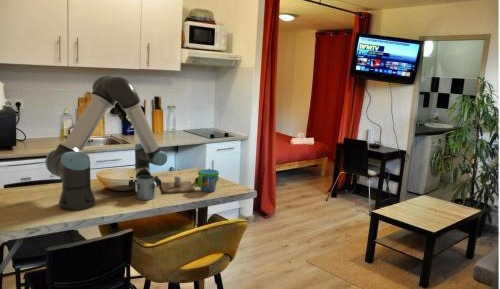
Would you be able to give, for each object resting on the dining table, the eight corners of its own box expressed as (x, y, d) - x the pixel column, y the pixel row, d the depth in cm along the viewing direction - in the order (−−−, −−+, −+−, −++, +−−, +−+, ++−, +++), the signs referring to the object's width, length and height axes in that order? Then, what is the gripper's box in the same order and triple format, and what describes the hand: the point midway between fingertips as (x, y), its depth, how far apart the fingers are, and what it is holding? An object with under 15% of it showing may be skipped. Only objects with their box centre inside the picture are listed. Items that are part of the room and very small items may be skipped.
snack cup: (210, 185, 224) (210, 167, 223) (225, 189, 218) (225, 170, 217) (190, 191, 212) (190, 172, 210) (205, 195, 206) (206, 175, 204)
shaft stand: (163, 193, 206) (163, 181, 205) (160, 185, 221) (160, 173, 220) (195, 192, 211) (195, 180, 210) (190, 183, 226) (190, 172, 225)
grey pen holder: (137, 200, 194) (137, 179, 192) (136, 195, 202) (136, 175, 200) (154, 199, 196) (154, 179, 195) (153, 194, 204) (153, 174, 202)
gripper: (163, 182, 219) (168, 194, 197) (122, 183, 212) (123, 197, 191) (163, 168, 217) (168, 179, 196) (122, 169, 211) (122, 181, 190)
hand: (146, 188), depth 193 cm, fingers closed on grey pen holder, 8 cm apart
